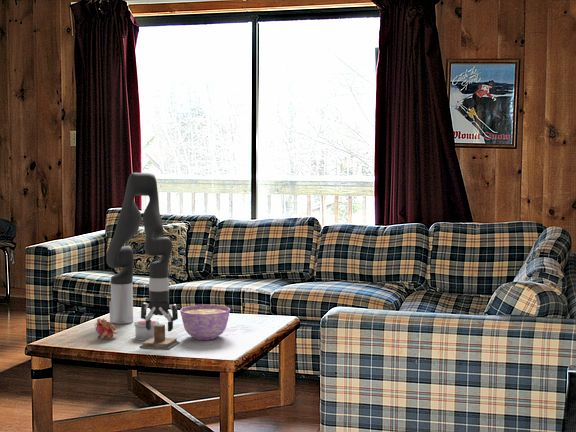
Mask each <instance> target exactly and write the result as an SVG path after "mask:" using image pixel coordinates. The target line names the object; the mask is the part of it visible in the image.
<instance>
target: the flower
mask: <svg viewBox="0 0 576 432" xmlns="http://www.w3.org/2000/svg"><path fill="white" fill-rule="evenodd" d="M94 327H95V332H96V333H97V334H98V336H97V339H99V340H100V338H103V339H105V340H108V339H109V338H113V337H114V335H118V334H119V332H118V331H115V330H116V325H114V323H110V321H107V320H106V319H105V318H102V319H101V318H98V319H96V323H95V324H94Z"/></svg>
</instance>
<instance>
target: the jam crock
mask: <svg viewBox="0 0 576 432" xmlns="http://www.w3.org/2000/svg"><path fill="white" fill-rule="evenodd" d="M150 320H151V319H150ZM133 323H134V324H133V325H134V328H135V330H134V331H135V335H134V336H135V340H137V341H138V340H139V341H147V340H148V339H150V338H152V337H154V326H155V325H157V324H160V322H159V321H158V320H153V319H152V320H151V329H150V330H147V329H146V320H145V319H144V320H138V321H136V322H133Z"/></svg>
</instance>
